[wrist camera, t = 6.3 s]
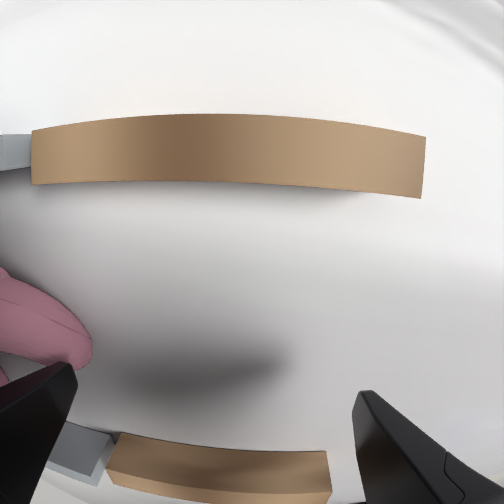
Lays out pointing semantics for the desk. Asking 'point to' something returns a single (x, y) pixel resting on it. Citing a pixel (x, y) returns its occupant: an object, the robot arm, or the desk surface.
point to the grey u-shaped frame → (71, 436)
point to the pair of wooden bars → (227, 170)
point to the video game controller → (39, 327)
